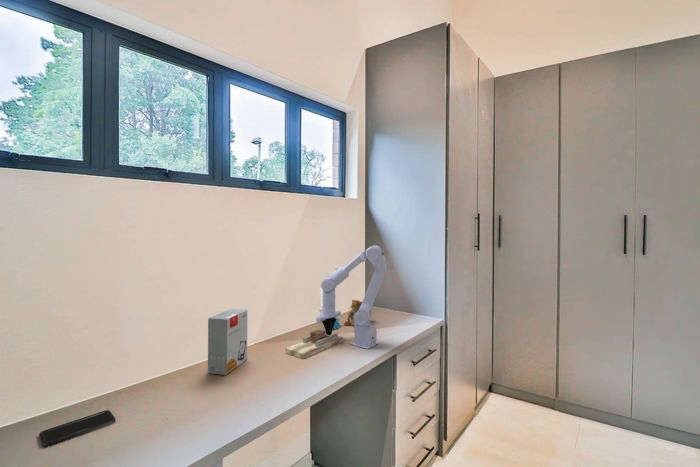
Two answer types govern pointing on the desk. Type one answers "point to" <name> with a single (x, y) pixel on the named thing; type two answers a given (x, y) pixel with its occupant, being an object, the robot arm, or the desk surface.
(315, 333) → the walnut cube
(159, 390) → the desk surface
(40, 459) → the desk surface
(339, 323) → the gear
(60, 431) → the phone
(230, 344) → the hard drive box
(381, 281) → the robot arm
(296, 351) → the channel board
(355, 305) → the stuffed squirrel
